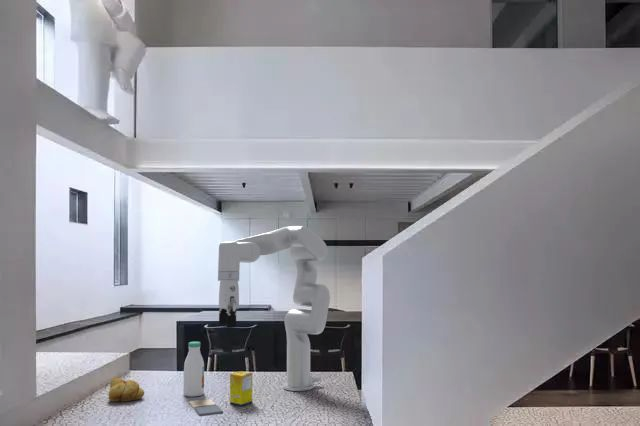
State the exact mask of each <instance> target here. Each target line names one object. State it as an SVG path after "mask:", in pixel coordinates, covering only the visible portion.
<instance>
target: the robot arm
mask: <svg viewBox="0 0 640 426" xmlns="http://www.w3.org/2000/svg"><path fill="white" fill-rule="evenodd" d="M287 249H289V254H290V256H291V258H292V259H293V261H294V264H295V266H296V271H297V272H296V279H295V283H294V284H295V285H294V289H293V295H292V301H293V302H294V304H295V305H297V306H299V307H306V308H307V307H308V308H309V307H310V308H311V309H303V308H293V309H289V311H288V312H286V313H285V316H284V327H285V332H286V334H285V335H286V382H284V383H283V384H282V388H283V389H284V390H286V391H292V392H306V391H310V390H312V389H314V388H315V385H314V383H315V382H317V383H318V382H322V377H321V376H316V375H314V376H313V375H311V342H310V338H309V335H320V334H322V333H323V331H324V329H325V327H326V324H327V320H328V312H329V307H330V301H331V295H330V294H331V293H330V290H329V288H328V287H327V286H326V285H325V284H321V283H317V281H318V270H317V267H316V265H315V264H314V261H315V262H319V261H323V260H324V259H326V258H327V255H328V247H327V244H326V242H325V241H324V239H322V238H321V237H320V236H318V235H317V233H315V232H314V231H313V230H312V229H310V228H309V227H307V226H305V225H292V226H290V225H289V226H283V227H281V228H278V229H275V230H271V231H269V232H265V233H261V234H257V235H253V236H247V237H244V238H240V239H237V240H234V241H222V242H220V243H219V244H218V260H217V261H218V263H217V265H218V266H217V268H218V269H217V281H218V282H219V289H218V290H219V291H218V307H219V310H218V324H219V325H226V328H236V327H237V314H238V313H237V311H238V310H239V309H240V290H239V289H240V288H239V281H240V268H241V267H240V264H241V263H244V264H245V263H246V264H247V263H249V264H251V263H254V262H256V261H257V260H258V259H259V258H260V257H261V256H268V255H273V254H276V253H279V252H281V251H284V250H287Z"/></svg>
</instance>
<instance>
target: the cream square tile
mask: <svg viewBox="0 0 640 426" xmlns="http://www.w3.org/2000/svg"><path fill="white" fill-rule="evenodd" d="M188 403H189V405H190V406H191V407H192V408H193V409H195V408H197V407H206V406H214V405H217V404H216V402H215V401H214V400H212V399H211V398H205V399H198V400H197V399H196V400H189V401H188Z"/></svg>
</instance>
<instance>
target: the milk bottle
mask: <svg viewBox="0 0 640 426" xmlns="http://www.w3.org/2000/svg"><path fill="white" fill-rule="evenodd" d="M201 344H202V343H201V341H190V342H188V344H187V345H188V352H187V356H185V357H186V358H185V359H184V360H185V361H184V365H183V396H185V397H192V398H193V397H199V396H200V397H201V396H202V395H204V394H205V393H204V391H205V362H204V358H203V356H202V354H201V350H200V349H201Z"/></svg>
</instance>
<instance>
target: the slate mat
mask: <svg viewBox="0 0 640 426" xmlns="http://www.w3.org/2000/svg"><path fill="white" fill-rule="evenodd" d="M194 411H195V412H196V413H197V414H198V415H199V417H202V416H208V415H217V414H223V413H224V410H223V409H221V408H220V407H219V406H218V405H217V404H216V405H214V406H206V407H197V408H194Z"/></svg>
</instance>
